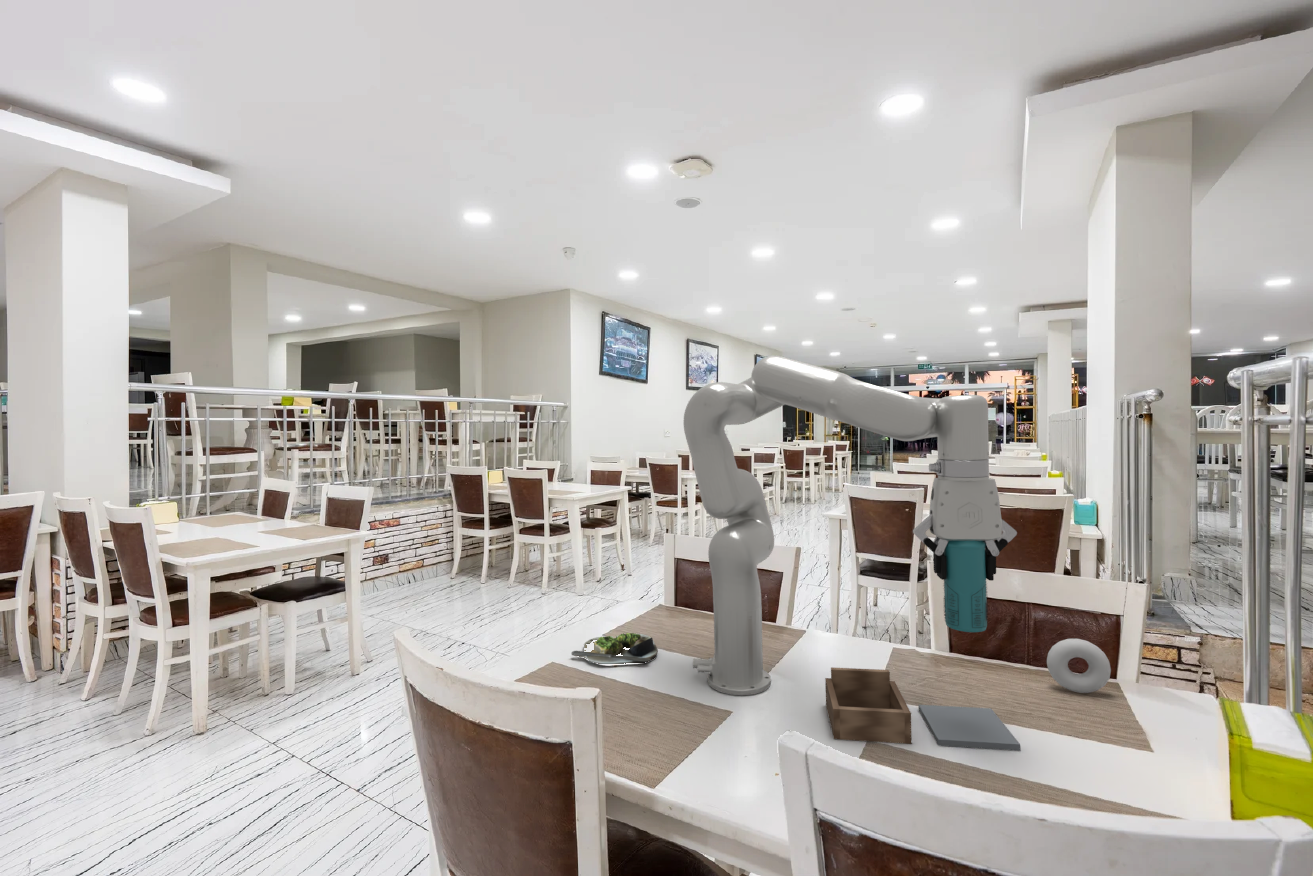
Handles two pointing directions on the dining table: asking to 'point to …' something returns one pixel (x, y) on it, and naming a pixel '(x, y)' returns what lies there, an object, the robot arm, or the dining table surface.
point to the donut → (1072, 681)
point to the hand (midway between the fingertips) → (964, 577)
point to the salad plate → (620, 649)
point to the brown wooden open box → (866, 706)
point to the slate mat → (967, 727)
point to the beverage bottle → (965, 586)
